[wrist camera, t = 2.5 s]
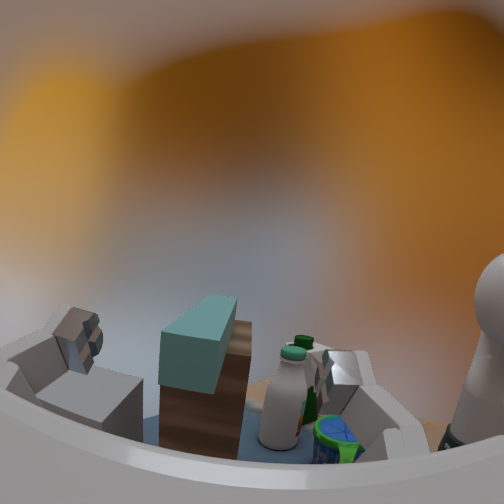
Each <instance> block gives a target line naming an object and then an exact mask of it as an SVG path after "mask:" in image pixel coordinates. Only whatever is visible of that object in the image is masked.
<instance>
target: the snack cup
mask: <svg viewBox="0 0 504 504" xmlns="http://www.w3.org/2000/svg"><path fill="white" fill-rule="evenodd" d="M313 434H314V447H313V461H312V464H343V463H354V462H355V461H356V460H357V459H358V458H359V457H360V456H361V455H362V454H363V453H364V452H365V449H364V448H363V447H362V445H361V444H360V443H359V441H358V440H357V439H356V437H355V436H354V435H353V433H352V432H351V431H350V429H349V428H348V427H347V425H346V424H345V422H344V421H343V420H342V418H341V417H340V415H328V416H324V417H322V418H320V419H318V420H317V421H316V422H315V424H314V428H313Z"/></svg>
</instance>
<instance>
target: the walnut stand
mask: <svg viewBox="0 0 504 504" xmlns="http://www.w3.org/2000/svg"><path fill="white" fill-rule="evenodd" d="M251 331H252V322H247V321H240V320H235V322H234V327H233V330H232V334H231V337H230V341H229V344H228V347H227V351H226V354H225V358H224V361H223V365H222V368H221V371H220V375H219V378H218V382H217V385H216V389H215V392H214V394H208V393H201V392H195V391H190V390H184V389H179V388H174V387H169V386H164V385H160V408H159V447H162V448H166V449H171V450H175V451H180V452H186V453H191V454H197V455H203V456H209V457H216V458H223V459H231V460H237V454H238V447H239V441H240V434H241V427H242V420H243V413H244V406H245V399H246V391H247V384H248V377H249V370H250V362H251V339H252V332H251Z"/></svg>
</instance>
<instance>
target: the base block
mask: <svg viewBox="0 0 504 504" xmlns="http://www.w3.org/2000/svg"><path fill="white" fill-rule="evenodd" d="M36 397H37V398H38V400H39V402H40V403H41V406H42V408H44V409H46V410H48V411H51V412H53V413H55V414H58V415H60V416H63V417H65V418H68V419H70V420H73V421H75V422H78V423H81V424H83V425H86V426H89V427H92V428H95V429H98V430H101V431H104V432H107V433H110V434H113V435H116V436H120V437H123V438H127V439H130V440H134V441H137V442H141V443H143V378H139V377H135V376H131V375H127V374H123V373H119V372H115V371H112V370H108V369H104V368H101V367H97V366H94V365H92V367H91V369H90V371H89V373H88V375H84V374H81V373H77V372H74V371H71V370H69V371H68V372H66V373H65V374H64V375H62V376H61V377H59V378H58V379H57V380H55V381H54V382H52V383H51V384H50V385H48V386H47V387H45V388H44V389H43V390H41V391H40V392H38V393H37V394H36Z"/></svg>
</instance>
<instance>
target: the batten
mask: <svg viewBox="0 0 504 504" xmlns="http://www.w3.org/2000/svg"><path fill="white" fill-rule="evenodd" d="M236 305H237V297H229V296H222V295H214V294H210V295H208V296H207V297H206V298H204V299H203V300H202V301H201V302H199V303H198V304H197V305H195V306H194V307H193V308H191V309H190V310H189V311H187V312H186V313H185V314H183V315H182V316H181V317H179V318H178V319H177V320H176V321H174V322H173V323H172V324H170V325H169V326H168V327H166V328H165V329H164V330H162V331H161V341H160V356H159V375H158V376H159V377H158V384H159V385H164V386H169V387H174V388H179V389H184V390H190V391H195V392H201V393H208V394H214V392H215V389H216V385H217V382H218V378H219V375H220V371H221V368H222V365H223V361H224V358H225V354H226V351H227V347H228V344H229V341H230V337H231V334H232V330H233V327H234V322H235V313H236Z"/></svg>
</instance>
